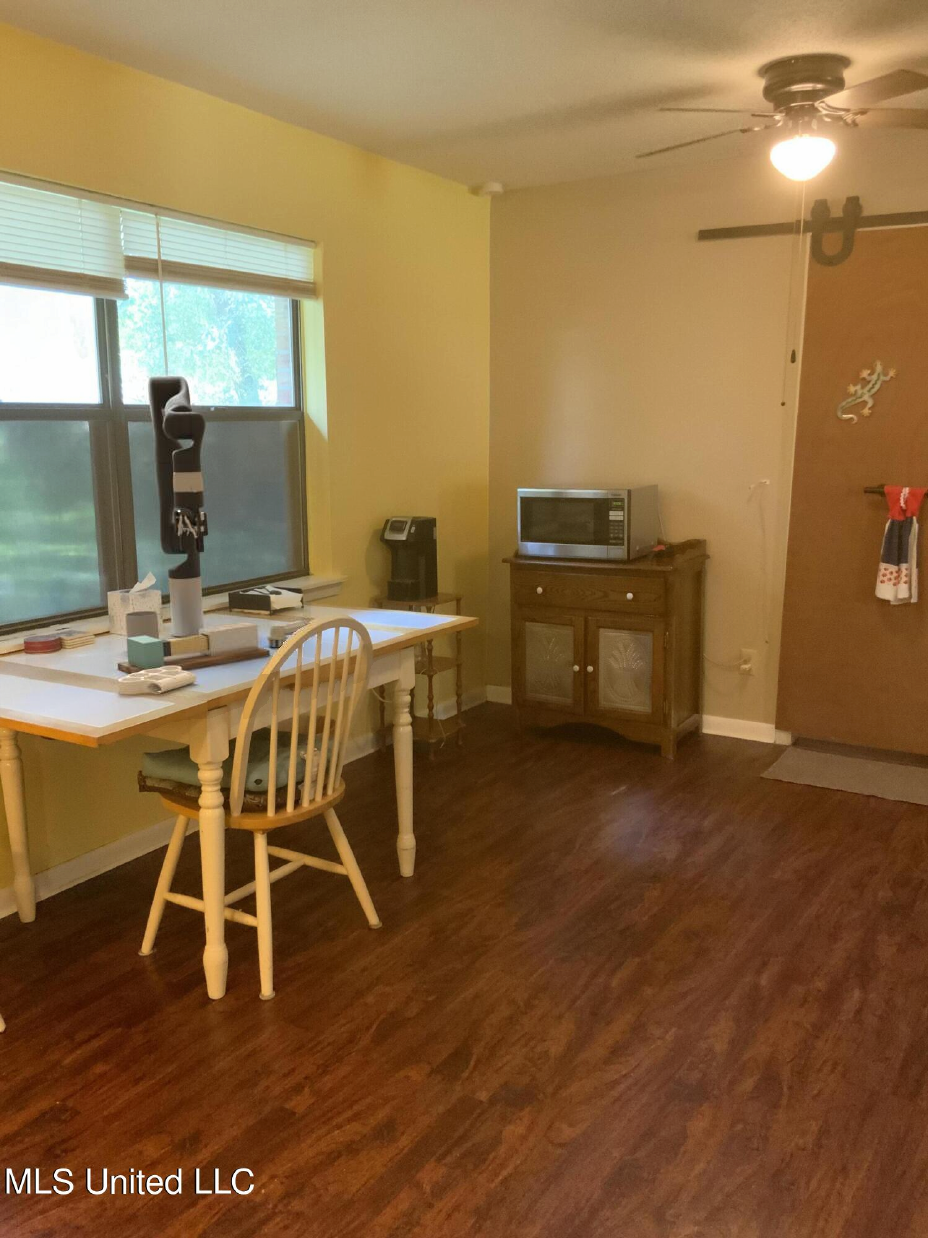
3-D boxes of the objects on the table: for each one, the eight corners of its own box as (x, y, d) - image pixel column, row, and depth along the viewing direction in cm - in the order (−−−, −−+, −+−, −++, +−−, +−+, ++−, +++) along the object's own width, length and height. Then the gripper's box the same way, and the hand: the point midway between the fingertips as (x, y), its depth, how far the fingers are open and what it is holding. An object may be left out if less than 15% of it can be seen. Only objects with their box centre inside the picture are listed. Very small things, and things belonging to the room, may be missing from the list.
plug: (138, 657, 260) (137, 643, 260) (217, 645, 275) (216, 631, 274) (145, 660, 257) (144, 645, 257) (224, 647, 272) (223, 633, 271)
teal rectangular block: (128, 663, 262) (126, 638, 261) (147, 660, 265) (145, 635, 264) (145, 669, 254) (143, 643, 253) (164, 666, 258) (162, 640, 257)
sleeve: (200, 653, 273) (198, 629, 272) (247, 645, 282) (246, 622, 281) (211, 656, 268) (209, 631, 267) (258, 648, 277) (257, 624, 276)
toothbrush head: (312, 619, 308) (281, 622, 284) (312, 641, 309) (281, 646, 284) (295, 619, 309) (263, 622, 285) (295, 641, 310) (264, 646, 285)
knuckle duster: (152, 699, 232) (104, 693, 239) (206, 682, 248) (160, 677, 255) (151, 685, 232) (103, 679, 238) (205, 668, 247) (159, 663, 254)
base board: (117, 668, 262) (117, 663, 262) (243, 648, 286) (243, 642, 285) (141, 677, 252) (141, 671, 252) (269, 655, 275) (269, 650, 275)
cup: (154, 651, 283) (151, 615, 282) (124, 652, 283) (121, 616, 282) (162, 645, 292) (160, 610, 290) (133, 646, 292) (131, 611, 290)
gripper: (162, 489, 273) (167, 550, 276) (187, 491, 263) (191, 554, 265) (189, 488, 278) (192, 548, 281) (214, 489, 267) (218, 551, 270)
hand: (192, 551), depth 273 cm, fingers open, 8 cm apart
